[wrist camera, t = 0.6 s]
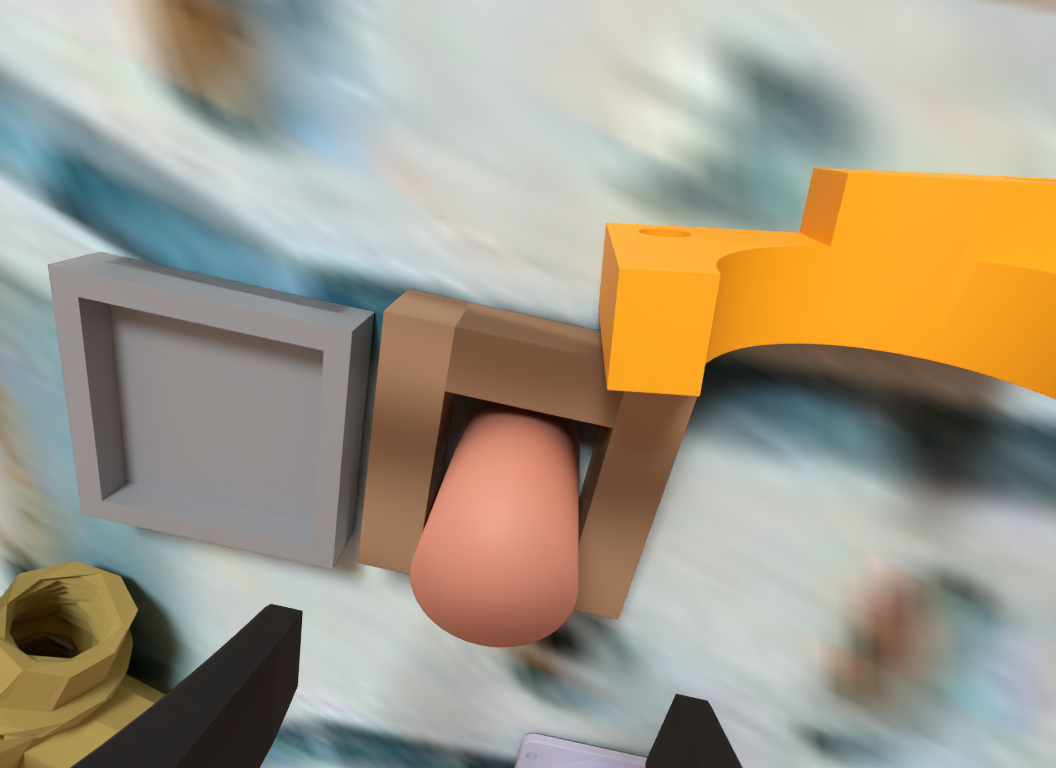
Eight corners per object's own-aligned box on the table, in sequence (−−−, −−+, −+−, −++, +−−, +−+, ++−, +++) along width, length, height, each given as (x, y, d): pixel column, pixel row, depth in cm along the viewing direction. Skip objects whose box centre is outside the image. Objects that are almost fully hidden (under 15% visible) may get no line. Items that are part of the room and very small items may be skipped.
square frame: (613, 569, 22) (617, 619, 20) (380, 518, 22) (357, 563, 20) (687, 350, 18) (702, 381, 16) (408, 288, 18) (384, 310, 16)
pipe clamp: (1055, 178, 16) (1339, 205, 10) (997, 330, 18) (1210, 431, 12) (611, 158, 17) (628, 172, 11) (598, 306, 18) (607, 390, 12)
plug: (564, 500, 21) (557, 661, 15) (455, 477, 21) (401, 628, 15) (591, 402, 19) (596, 535, 13) (473, 377, 19) (421, 497, 13)
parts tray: (352, 533, 22) (332, 569, 21) (122, 483, 22) (81, 514, 20) (374, 312, 19) (352, 331, 17) (99, 251, 19) (47, 264, 17)
